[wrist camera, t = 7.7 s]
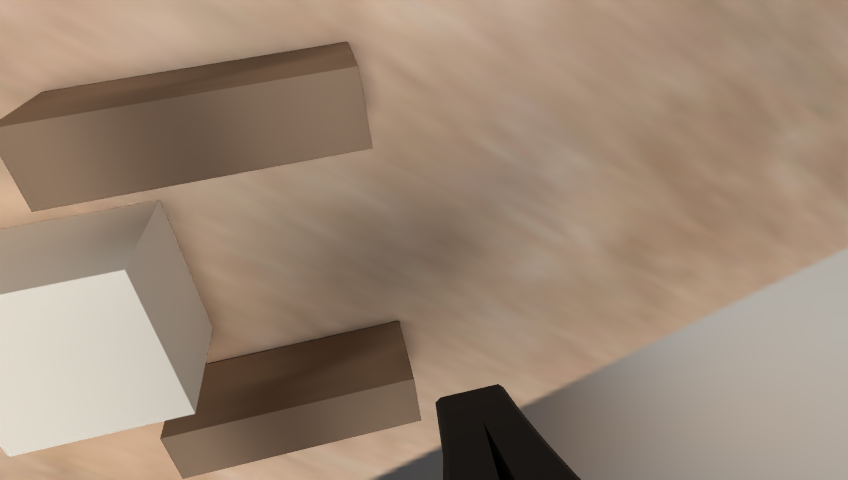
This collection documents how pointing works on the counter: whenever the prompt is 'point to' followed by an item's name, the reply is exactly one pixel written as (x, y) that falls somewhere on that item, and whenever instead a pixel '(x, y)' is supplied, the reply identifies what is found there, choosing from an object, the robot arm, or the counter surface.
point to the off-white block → (96, 327)
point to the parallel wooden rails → (209, 158)
